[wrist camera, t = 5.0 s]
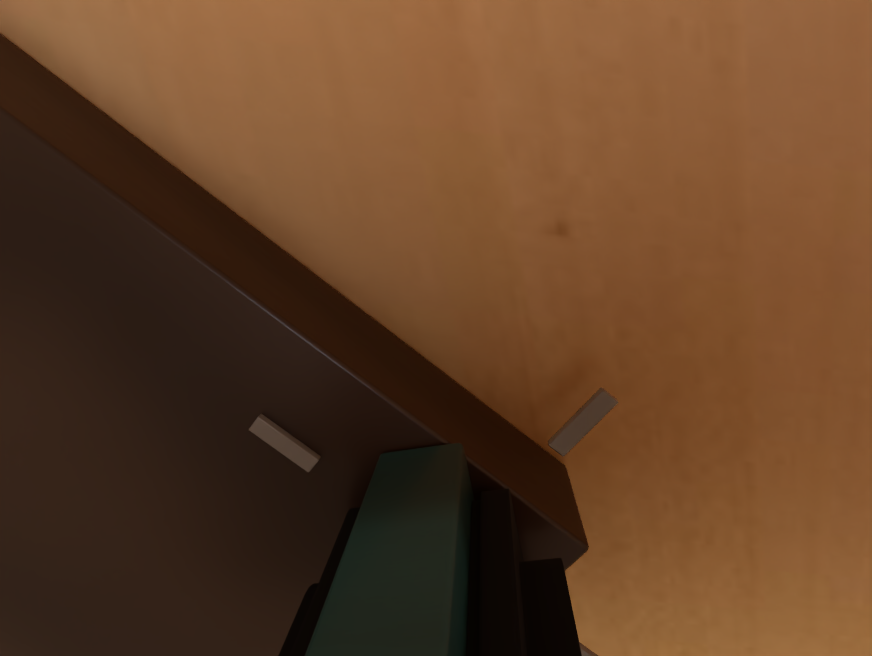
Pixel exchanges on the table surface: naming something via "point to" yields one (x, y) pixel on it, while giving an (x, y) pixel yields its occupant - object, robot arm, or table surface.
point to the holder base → (195, 404)
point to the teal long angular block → (404, 562)
